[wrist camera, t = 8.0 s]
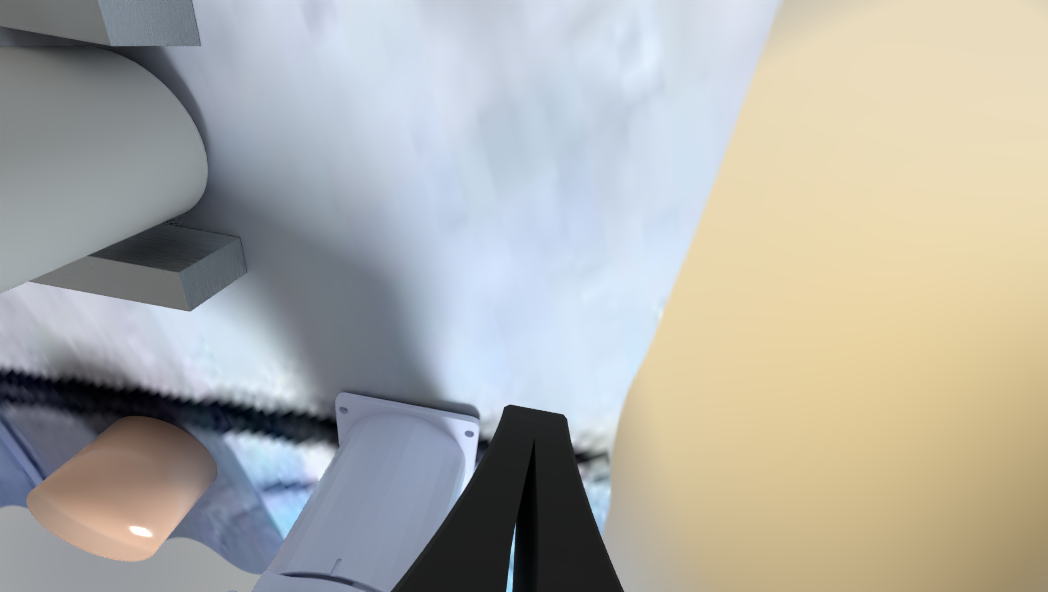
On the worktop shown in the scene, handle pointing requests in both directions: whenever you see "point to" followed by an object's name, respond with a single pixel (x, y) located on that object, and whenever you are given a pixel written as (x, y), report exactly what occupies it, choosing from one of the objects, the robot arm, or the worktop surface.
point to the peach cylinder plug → (125, 489)
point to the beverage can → (87, 156)
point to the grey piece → (163, 250)
